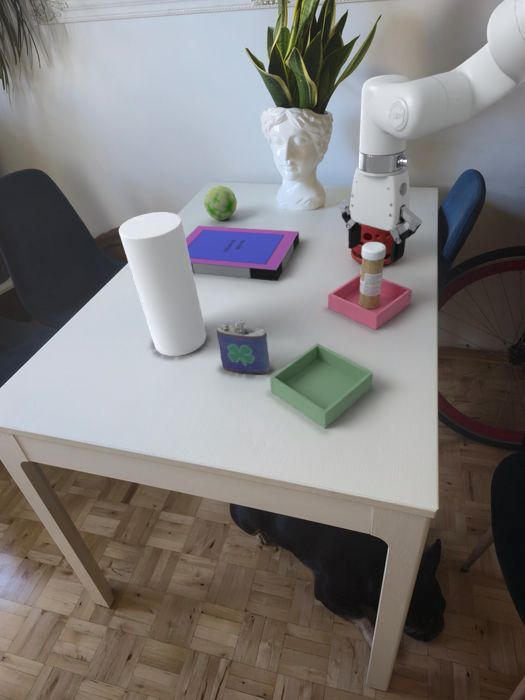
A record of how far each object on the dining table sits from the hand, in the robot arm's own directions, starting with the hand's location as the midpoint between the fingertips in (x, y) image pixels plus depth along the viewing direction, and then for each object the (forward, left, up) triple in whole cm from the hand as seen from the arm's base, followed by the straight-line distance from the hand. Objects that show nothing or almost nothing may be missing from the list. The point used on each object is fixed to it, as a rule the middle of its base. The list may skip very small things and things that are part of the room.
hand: (374, 252), depth 85 cm
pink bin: (0, 0, -13) cm, 13 cm away
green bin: (-9, +26, -13) cm, 30 cm away
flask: (+5, +31, -13) cm, 34 cm away
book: (+41, +3, -13) cm, 43 cm away
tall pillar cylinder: (+22, +34, -13) cm, 43 cm away
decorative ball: (+63, -11, -13) cm, 66 cm away
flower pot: (+12, -18, -13) cm, 25 cm away
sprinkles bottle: (0, 0, -12) cm, 12 cm away
